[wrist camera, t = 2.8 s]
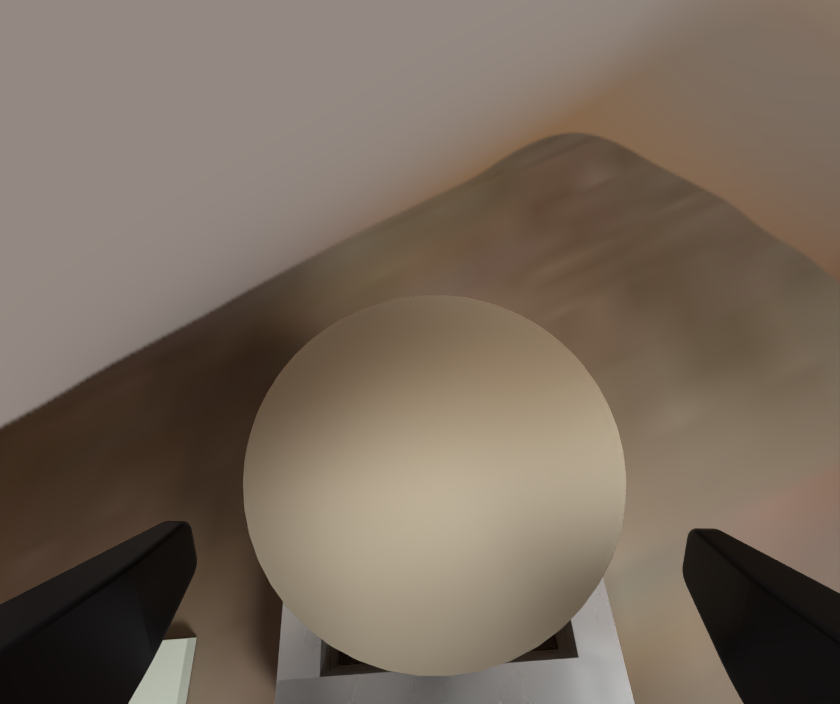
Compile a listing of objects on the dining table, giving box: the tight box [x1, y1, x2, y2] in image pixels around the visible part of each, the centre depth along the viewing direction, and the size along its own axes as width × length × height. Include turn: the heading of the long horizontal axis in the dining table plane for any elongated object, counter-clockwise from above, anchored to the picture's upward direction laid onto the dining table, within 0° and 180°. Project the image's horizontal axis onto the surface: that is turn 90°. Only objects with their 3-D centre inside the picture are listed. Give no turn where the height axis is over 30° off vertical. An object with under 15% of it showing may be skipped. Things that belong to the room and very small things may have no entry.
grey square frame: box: [275, 577, 634, 704], centre depth 15 cm, size 10×10×2 cm
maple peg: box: [243, 295, 626, 676], centre depth 11 cm, size 6×6×11 cm
